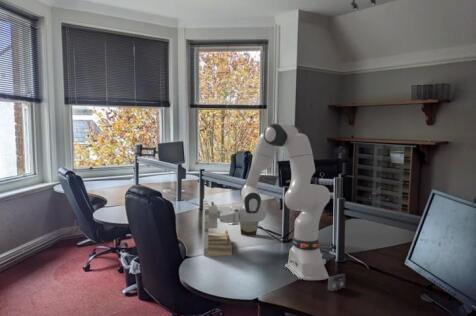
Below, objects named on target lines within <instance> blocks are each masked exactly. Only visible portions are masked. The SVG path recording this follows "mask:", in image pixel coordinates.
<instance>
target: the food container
mask: <svg viewBox="0 0 476 316" xmlns="http://www.w3.org/2000/svg"><path fill="white" fill-rule="evenodd" d="M259 224H260V221H259V222H247V221H245V222H239V226H240V227H239V228H240V235H241V236H249V237H257V235H258V233H257V232H258V226H259Z"/></svg>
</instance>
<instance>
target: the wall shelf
mask: <svg viewBox="0 0 476 316" xmlns="http://www.w3.org/2000/svg"><path fill="white" fill-rule="evenodd" d="M202 201H203V202H202V247H203V248H202V249H203V256H204V257H205V256H207V257H211V256H212V257H213V256H215V257H216V256H219V257H220V256H232V254H233V253H232V252H233V249H232V248H233V244H232V243H233V242H232V240H231V237H230V234H229V231H228V229H225V233H209V229H210V228H209V207H208V204H209V203H208V200H207V198H203V200H202Z"/></svg>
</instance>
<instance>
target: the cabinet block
mask: <svg viewBox="0 0 476 316" xmlns="http://www.w3.org/2000/svg"><path fill="white" fill-rule="evenodd" d="M208 207H209V229H218V218H211V217H210V214H217V209H218V204H217V203H215V202H214V201H211V203H208Z"/></svg>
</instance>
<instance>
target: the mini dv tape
mask: <svg viewBox="0 0 476 316" xmlns="http://www.w3.org/2000/svg"><path fill="white" fill-rule="evenodd" d="M346 277H347V274H345V273H340V274H336V275H332V276H329V277H328V280H327V288H326V289H327V291H328V290H329V291H332V292H335V291H334V290H336V291H338V290H337V289H340V290H342V289H341V288H344V289H346V279H347V278H346ZM329 291H328V292H329Z"/></svg>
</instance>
